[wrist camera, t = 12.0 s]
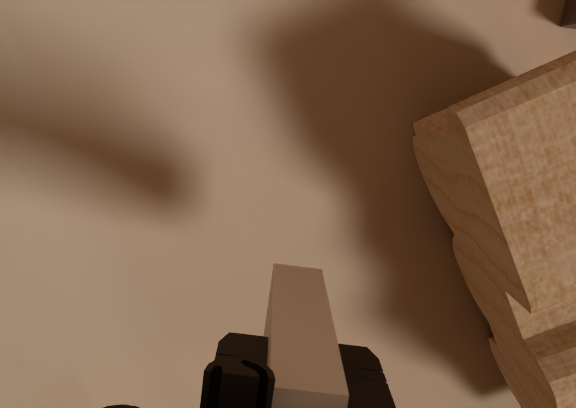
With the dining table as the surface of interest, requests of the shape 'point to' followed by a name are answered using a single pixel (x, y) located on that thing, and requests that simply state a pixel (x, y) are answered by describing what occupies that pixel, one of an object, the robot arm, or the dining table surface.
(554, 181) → the carved wooden block
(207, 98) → the dining table surface
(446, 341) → the dining table surface
